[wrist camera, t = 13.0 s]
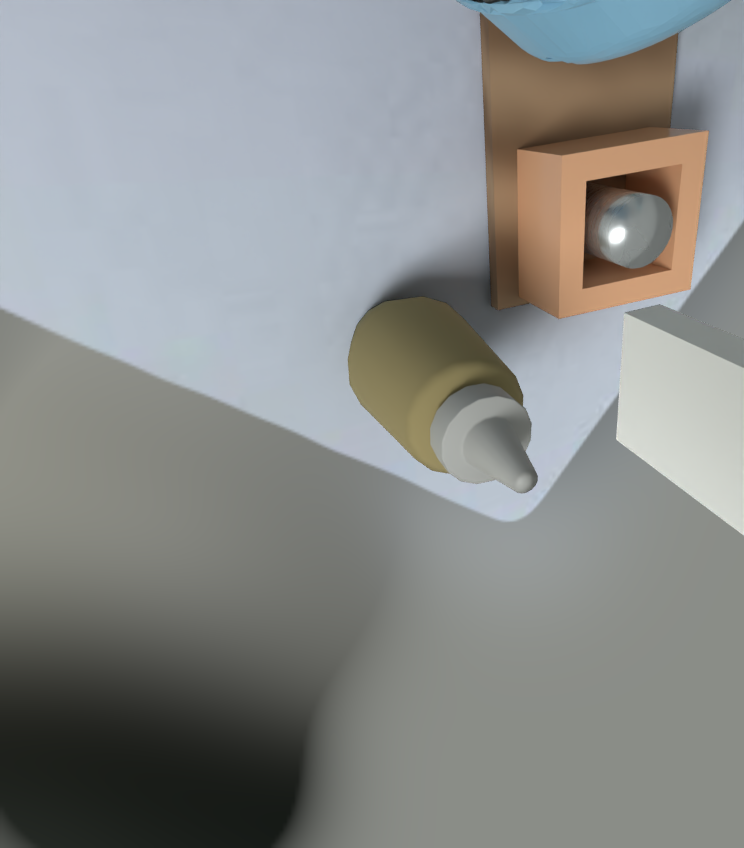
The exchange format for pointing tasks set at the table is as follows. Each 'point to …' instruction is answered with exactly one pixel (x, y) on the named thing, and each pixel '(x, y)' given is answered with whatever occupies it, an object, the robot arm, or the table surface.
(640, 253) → the post
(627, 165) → the collar
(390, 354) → the squeeze bottle
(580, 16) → the robot arm
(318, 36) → the table surface
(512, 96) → the board
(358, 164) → the table surface
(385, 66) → the table surface
